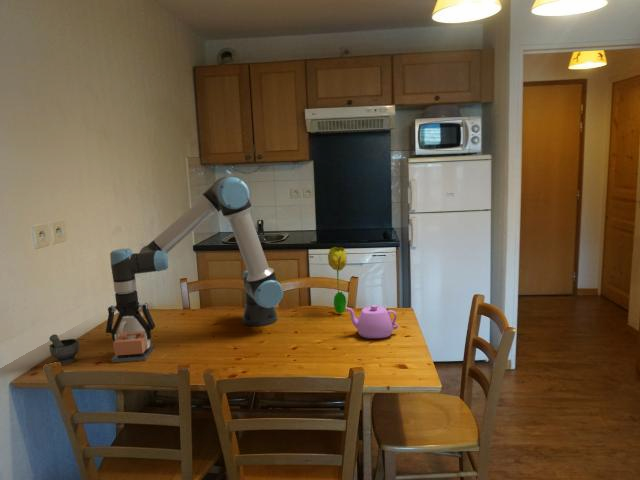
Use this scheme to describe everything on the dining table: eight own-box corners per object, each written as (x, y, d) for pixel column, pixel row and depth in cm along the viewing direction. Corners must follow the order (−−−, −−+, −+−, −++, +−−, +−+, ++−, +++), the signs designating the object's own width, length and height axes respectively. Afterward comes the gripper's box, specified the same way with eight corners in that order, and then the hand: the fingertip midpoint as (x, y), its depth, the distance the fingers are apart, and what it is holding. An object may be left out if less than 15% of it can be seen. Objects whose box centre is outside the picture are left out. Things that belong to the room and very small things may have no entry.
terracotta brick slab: (150, 343, 185) (149, 330, 184) (142, 353, 175) (141, 340, 175) (124, 345, 185) (123, 332, 184) (114, 355, 175) (113, 342, 174)
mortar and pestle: (62, 356, 184) (58, 326, 182) (86, 355, 183) (81, 325, 181) (43, 368, 173) (38, 336, 171) (68, 368, 172) (63, 336, 170)
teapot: (397, 328, 192) (396, 299, 190) (399, 340, 179) (398, 310, 177) (347, 329, 194) (345, 301, 192) (345, 341, 181) (344, 311, 179)
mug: (129, 346, 190) (126, 321, 188) (112, 345, 193) (109, 320, 191) (149, 335, 201) (146, 311, 199) (133, 334, 204) (130, 310, 202)
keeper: (154, 347, 187) (152, 329, 185) (145, 360, 175) (142, 340, 174) (123, 350, 186) (121, 331, 185) (111, 363, 174) (109, 343, 173)
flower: (330, 312, 217) (326, 247, 212) (347, 310, 218) (344, 245, 213) (332, 318, 209) (328, 250, 204) (351, 316, 209) (347, 249, 205)
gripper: (159, 286, 181) (166, 342, 184) (98, 290, 180) (106, 347, 183) (154, 291, 173) (161, 350, 177) (90, 296, 172) (98, 355, 176)
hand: (133, 348), depth 180 cm, fingers closed on terracotta brick slab, 10 cm apart
